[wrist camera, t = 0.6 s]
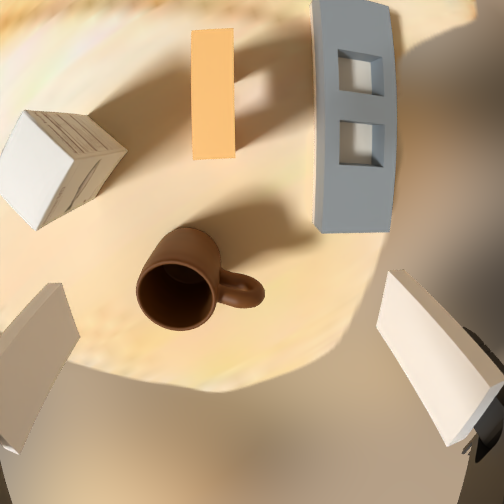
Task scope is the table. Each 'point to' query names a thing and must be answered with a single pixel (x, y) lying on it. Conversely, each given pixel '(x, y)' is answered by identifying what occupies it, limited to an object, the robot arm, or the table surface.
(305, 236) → the table surface
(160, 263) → the mug
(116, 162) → the supplement box
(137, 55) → the table surface
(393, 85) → the rail
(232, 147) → the tall wooden block
